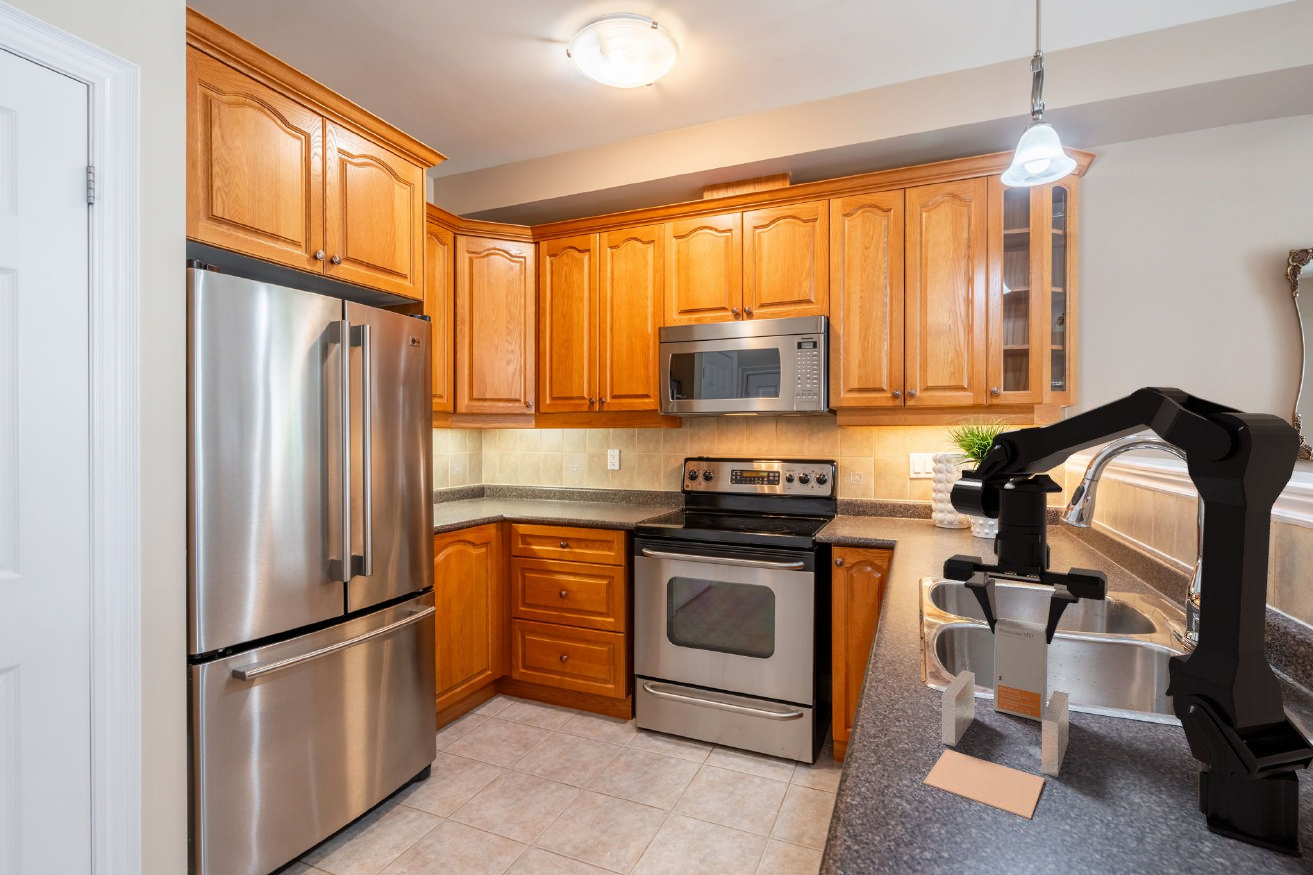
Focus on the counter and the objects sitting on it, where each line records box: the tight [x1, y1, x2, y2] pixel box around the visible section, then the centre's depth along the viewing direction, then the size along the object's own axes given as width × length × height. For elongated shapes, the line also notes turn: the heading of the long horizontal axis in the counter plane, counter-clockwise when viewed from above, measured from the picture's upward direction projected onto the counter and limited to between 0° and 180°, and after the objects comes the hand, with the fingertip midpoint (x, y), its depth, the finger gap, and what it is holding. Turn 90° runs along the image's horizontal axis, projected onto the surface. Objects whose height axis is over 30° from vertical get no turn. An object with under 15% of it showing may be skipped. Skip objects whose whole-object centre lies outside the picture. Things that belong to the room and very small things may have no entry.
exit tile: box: [922, 748, 1045, 820], centre depth 68 cm, size 10×9×1 cm
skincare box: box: [993, 617, 1049, 723], centre depth 85 cm, size 6×4×12 cm
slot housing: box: [941, 669, 1070, 778], centre depth 77 cm, size 12×10×6 cm
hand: (1021, 638), depth 85 cm, fingers closed on skincare box, 6 cm apart
